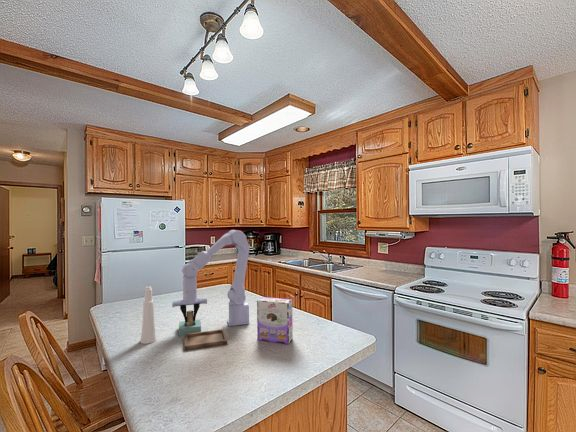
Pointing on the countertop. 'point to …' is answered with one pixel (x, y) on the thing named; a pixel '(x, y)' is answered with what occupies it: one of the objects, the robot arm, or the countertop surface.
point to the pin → (190, 318)
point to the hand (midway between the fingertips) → (190, 321)
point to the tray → (205, 339)
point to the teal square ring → (189, 327)
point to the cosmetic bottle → (148, 319)
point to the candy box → (274, 320)
